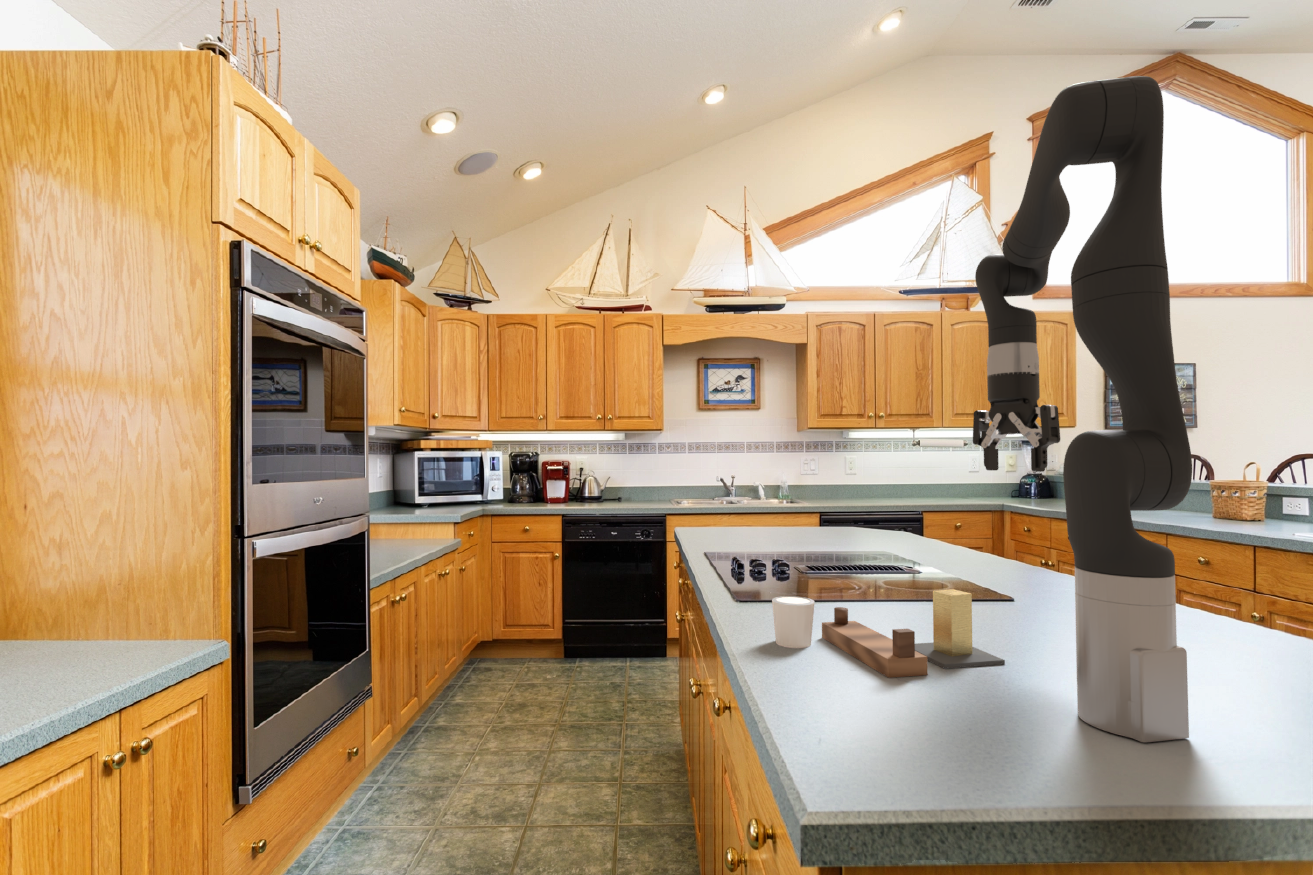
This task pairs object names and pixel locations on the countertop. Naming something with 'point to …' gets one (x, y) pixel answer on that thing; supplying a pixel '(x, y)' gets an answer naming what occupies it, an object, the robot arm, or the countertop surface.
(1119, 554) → the robot arm
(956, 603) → the pale wooden block
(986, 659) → the mat
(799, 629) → the white cup
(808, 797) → the countertop surface
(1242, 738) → the countertop surface
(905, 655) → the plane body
